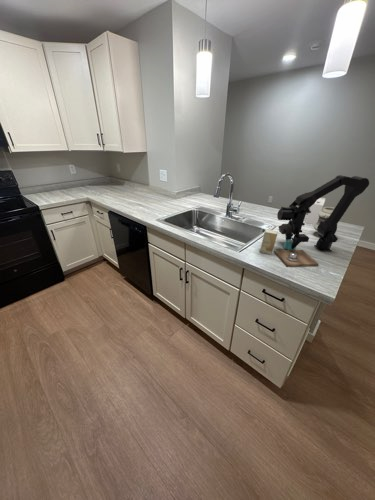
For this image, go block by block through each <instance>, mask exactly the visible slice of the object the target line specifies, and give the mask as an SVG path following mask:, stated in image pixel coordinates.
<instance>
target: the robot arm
mask: <svg viewBox="0 0 375 500" xmlns="http://www.w3.org/2000/svg"><path fill="white" fill-rule="evenodd" d="M369 185H370V180H369V178H366V177H363V176H359V175H354V176H351V177H350V176H346V175H342V174H339V175H336V176H335V177H334V178H333V179H330V181H329V180H328V181H327V182H325V183H324V184H322V185H321V186H319V187H317V188H315V189H314V190H312V191H310V192H305V193H302V194H301V195H298V196H297V197H296V198H295V200H294V201H293V202H292V203H290V204H289V205H288V206H281V207H280V209H279V210H278V211H277V220H278V221H288V223H282V224H280V225H278V233H281V235H285V240H286V239H291V240H293V242H292V249H294V248H295V247H297V246H298V245H299V244H301V243H308V242H309V241H310V240H309V239H310V237H309V236H308V235H307V234H305V233H303V230H302V228H303V226H305V224H306V223H305V219H306V216H307V214H308V213H311V211H310V207H311V206H312V205H313V204H314V203H315V202H316V201H317V200H318V199H319V198H324V197H325V196H326V195H328V194H330V193H331V192H334V191H335V190H336V189H337V190H338V188H340V187H342V186H344V192H343V195H342V196H341V198H340V200H339V201H338V203H337V204H336V205H335V207H334V208H335V209H334V210H333V212H332V213H331V215H330V216H329V218H328V219H327V220H326V221H324V222H323V221H321V222H320V224H319V226H318V227H317V231H316V232H318V236H320V237H321V238H318V240H317V241H316V244H314V245H313V246H314V248H316V249H317V250H318V251H320V252H332V251H333V249H331V247H332V244H333V243H336V242H337V241H338V236H336V232H337V230H338V223H339V222H340V220H341V219H342V217H343V216H344V215H345V213H346V212H347V210H348V209H349V207H350V206H351V204H352V203H353V201H354V199H355V198H356V197H358V196H359V195H361V194H363V193H364V192H365V190H366V189H367V188H368V187H369ZM295 249H296V248H295ZM295 249H294V250H295Z"/></svg>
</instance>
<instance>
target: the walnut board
mask: <svg viewBox="0 0 375 500" xmlns="http://www.w3.org/2000/svg"><path fill="white" fill-rule="evenodd" d="M291 252H293V253H296V254H297V256H296V257H297V258H298V261H296V262H292V261H289V260H287V258H286V257H287V256H288V255H290V253H291ZM273 253H274V254H275V255H276V257H277V258H278V259H279V260H280V261H281V262H282V263H283V264H284V265H285V266H286V267H287V268H288V267H290V268H291V267H319V265H320V264H319V263H318V262H317V261H316V260H315V259H314V258H313V257H311V256H310V255H309V253H307V252H306V251H304V249H294V250H287V249H283V250H282V249H279V250H278V249H277V250H276V249H273Z"/></svg>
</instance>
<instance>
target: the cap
mask: <svg viewBox="0 0 375 500" xmlns="http://www.w3.org/2000/svg"><path fill="white" fill-rule="evenodd" d="M292 242H293V240H292V239H286V238H285V241H284V243H283V248H284V250H296V247H297V246H296V247H295V248H294V249H292Z"/></svg>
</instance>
